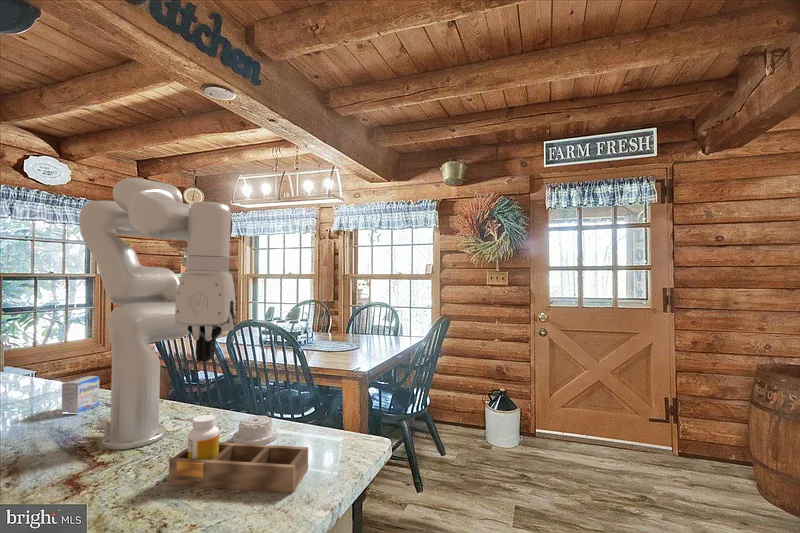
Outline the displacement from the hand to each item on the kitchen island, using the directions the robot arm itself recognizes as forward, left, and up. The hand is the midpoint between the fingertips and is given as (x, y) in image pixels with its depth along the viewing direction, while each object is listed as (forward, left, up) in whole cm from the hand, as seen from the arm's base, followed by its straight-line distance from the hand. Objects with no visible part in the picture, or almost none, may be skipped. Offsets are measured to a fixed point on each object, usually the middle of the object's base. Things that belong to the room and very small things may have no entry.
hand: (205, 359), depth 79 cm
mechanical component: (+2, +18, -23) cm, 29 cm away
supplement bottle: (0, 0, -21) cm, 21 cm away
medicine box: (-54, +30, -22) cm, 66 cm away
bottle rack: (+8, 0, -22) cm, 23 cm away
